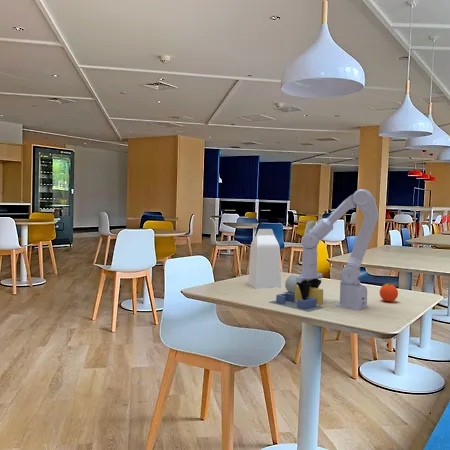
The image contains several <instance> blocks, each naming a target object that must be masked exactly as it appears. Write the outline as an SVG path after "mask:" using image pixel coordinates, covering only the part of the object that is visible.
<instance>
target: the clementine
mask: <svg viewBox="0 0 450 450" xmlns="http://www.w3.org/2000/svg"><path fill="white" fill-rule="evenodd" d="M379 296H380V298H381V299H382V300H383V301H384V302H388V303H389V302H390V303H391V302H393V301H395V300H396V299H397V298H398V296H399V291H398V288H397V287H396V286H395V285H394V284H391V283H383V284H382V285H381V287H380V289H379Z"/></svg>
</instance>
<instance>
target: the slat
mask: <svg viewBox="0 0 450 450" xmlns="http://www.w3.org/2000/svg"><path fill="white" fill-rule="evenodd" d="M308 297H310V298H315V299H316V306H320V305H323V303H324V288H320V287H318V288H314V287H310V289H309V295H308ZM298 299H300V300H303V299H302V296H301V291H300V288H299V286H298V285H297V286H295V301H297V300H298ZM305 301H306V300H305Z"/></svg>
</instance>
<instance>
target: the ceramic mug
mask: <svg viewBox="0 0 450 450" xmlns="http://www.w3.org/2000/svg"><path fill="white" fill-rule="evenodd" d="M296 277H298V275H296V274H290V275H289V276H288V277H287V278H286V280H285V282H284V287H285V289H286V291H288V292H287V293H291V294H295V286H297V285H298V284H297V282H296Z"/></svg>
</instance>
